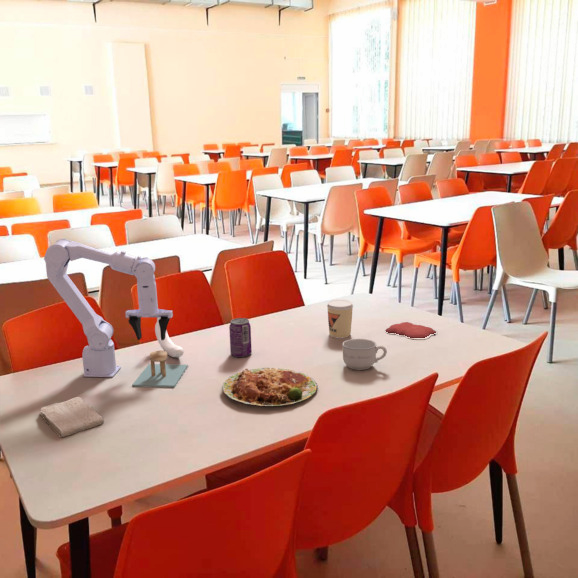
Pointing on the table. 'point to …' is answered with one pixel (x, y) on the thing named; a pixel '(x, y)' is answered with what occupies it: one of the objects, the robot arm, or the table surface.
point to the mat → (160, 376)
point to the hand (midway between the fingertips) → (151, 338)
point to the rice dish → (269, 386)
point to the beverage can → (240, 337)
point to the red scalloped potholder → (410, 330)
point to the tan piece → (158, 357)
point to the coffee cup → (340, 318)
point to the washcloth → (70, 416)
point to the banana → (167, 343)
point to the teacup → (361, 353)
